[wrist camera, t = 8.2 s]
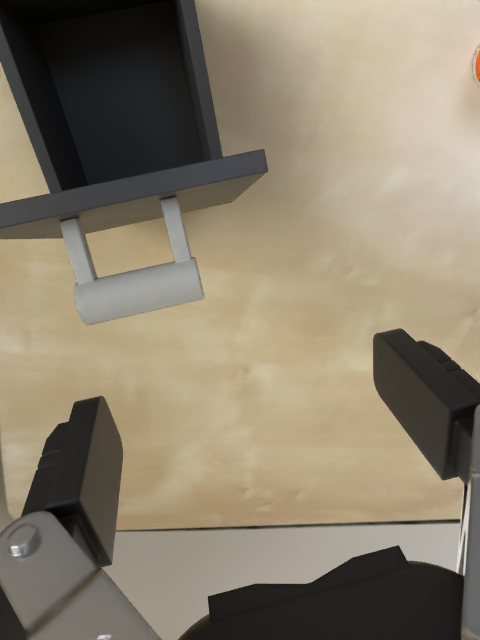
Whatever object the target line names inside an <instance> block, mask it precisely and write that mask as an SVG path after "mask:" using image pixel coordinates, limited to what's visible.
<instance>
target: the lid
mask: <svg viewBox="0 0 480 640" xmlns="http://www.w3.org/2000/svg"><path fill="white" fill-rule="evenodd" d="M267 172H268V168H267V162H266V157H265V152H264V149H261V150H256V151H251V152H247V153H242V154H237V155H232V156H227V157H223V158H218V159H213V160H208V161H203V162H199V163H194V164H189V165H184V166H179V167H175V168H170V169H165V170H160V171H155V172H151V173H146V174H141V175H136V176H131V177H127V178H122V179H117V180H112V181H107V182H103V183H98V184H93V185H88V186H83V187H79V188H74V189H69V190H64V191H59V192H55V193H50V194H45V195H40V196H35V197H31V198H26V199H21V200H16V201H11V202H7V203H2V204H0V239H45V238H64V241H65V244H66V247H67V251H68V254H69V257H70V261H71V264H72V267H73V271H74V274H75V277H76V281H77V284H75V286H74V299H75V304H76V308H77V311H78V313H79V316H80V318H81V319H82V321H83V322H84V323H85V324H86V325H93V324H97V323H102V322H106V321H110V320H115V319H119V318H123V317H128V316H132V315H136V314H141V313H145V312H149V311H154V310H158V309H162V308H167V307H171V306H175V305H180V304H184V303H188V302H193V301H197V300H201V299H204V292H203V288H202V284H201V279H200V275H199V271H198V267H197V262H196V259H195V257H191V253H190V248H189V244H188V240H187V236H186V232H185V227H184V223H183V219H182V215H181V213H184V212H189V211H194V210H198V209H203V208H208V207H212V206H217V205H221V204H226V203H231V202H232V201H233V200H235V199H236V198H237V197H238V196H239V195H241V194H242V193H243V192H244V191H245V190H246V189H248V188H249V187H250V186H251V185H252V184H254V183H255V182H256V181H257V180H258V179H259V178H261V177H262V176H263V175H264V174H265V173H267ZM161 217H164V220H165V224H166V228H167V232H168V236H169V240H170V244H171V248H172V252H173V256H174V260H175V261H174V262H169V263H165V264H160V265H156V266H151V267H147V268H142V269H138V270H133V271H129V272H124V273H120V274H115V275H111V276H107V277H102V278H97V275H96V272H95V268H94V265H93V261H92V258H91V254H90V251H89V247H88V244H87V240H86V237H85V234H87V233H92V232H96V231H101V230H106V229H110V228H115V227H119V226H124V225H129V224H133V223H138V222H143V221H147V220H152V219H157V218H161Z"/></svg>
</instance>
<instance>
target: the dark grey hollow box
mask: <svg viewBox="0 0 480 640" xmlns="http://www.w3.org/2000/svg"><path fill="white" fill-rule="evenodd" d="M0 62H1V65H2V67H3V70H4V72H5V75H6V78H7V80H8V83H9V86H10V88H11V91H12V93H13V96H14V99H15V101H16V104H17V107H18V109H19V112H20V114H21V117H22V120H23V122H24V125H25V128H26V130H27V133H28V135H29V138H30V141H31V143H32V146H33V148H34V151H35V154H36V156H37V159H38V162H39V164H40V167H41V169H42V172H43V175H44V177H45V180H46V183H47V185H48V188H49V190H50V193H55V192H59V191H64V190H69V189H74V188H79V187H83V186H88V185H93V184H98V183H103V182H107V181H112V180H117V179H122V178H127V177H131V176H136V175H141V174H146V173H151V172H155V171H160V170H165V169H170V168H175V167H179V166H184V165H189V164H194V163H199V162H203V161H208V160H213V159H218V158H223V156H222V151H221V145H220V140H219V134H218V129H217V123H216V118H215V112H214V107H213V101H212V96H211V90H210V85H209V79H208V73H207V68H206V62H205V57H204V51H203V46H202V40H201V35H200V29H199V24H198V18H197V13H196V7H195V2H194V0H0Z"/></svg>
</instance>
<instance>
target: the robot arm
mask: <svg viewBox="0 0 480 640" xmlns="http://www.w3.org/2000/svg"><path fill="white" fill-rule="evenodd" d="M373 377H374V383H375V387H376V389H377V392H378V394H379V396H380V397H381V398H382V400H383V401H384V402H385V404H386V405H387V406H388V408H389V409H390V411H391V412H392V413H393V415H394V416H395V417H396V419H397V420H398V421H399V423H400V424H401V425H402V427H403V428H404V429H405V431H406V432H407V433H408V435H409V436H410V437H411V439H412V440H413V441H414V443H415V444H416V445H417V447H418V448H419V450H420V451H421V452H422V454H423V455H424V456H425V458H426V459H427V460H428V462H429V463H430V464H431V466H432V467H433V468H434V470H435V471H436V472H437V474H438V475H439V476H440V478H441V479H442V480H447V479H451V478H455V477H460V479H461V480H462V481H463V482H464V490H463V500H462V512H461V523H460V536H459V548H458V558H457V567H456V572H454V571H452V570H449V569H446V568H443V567H441V566H438V565H434V564H430V563H425V562H417V561H407V560H406V558H405V556H404V554H403V553H402V551H401V549H400V547H399V546H395V547H391V548H387V549H383V550H379V551H376V552H372V553H368V554H365V555H361V556H357V557H353V558H352V559H350V560H348V561H347V562H345V563H343V564H342V565H340V566H338V567H337V568H335V569H333V570H332V571H330V572H328V573H327V574H325V575H323V576H322V577H320V578H318V579H317V580H315V581H313V582H311V583H308V584H253V585H249V586H245V587H242V588H238V589H234V590H231V591H227V592H223V593H219V594H216V595H212V596H208V604H209V614H208V615H206V616H205V617H203V618H202V619H200V620H199V621H198V622H196V623H195V624H194V625H192V626H191V627H190V628H189V629H188V630H187V631H186V632H185V633H184V634H183V635H182V636H181V637H180V638H179V639H178V640H480V384H479V383H478V382H477V381H476V380H475V379H474V378H473V377H471V376H470V375H469V374H468V373H467V372H466V371H465V370H464V369H461V367H460V366H459V365H458V364H457V363H456V362H455V361H452V360H451V358H450V357H449V356H448V355H447V354H445V353H444V352H443V351H442V350H441V349H440V348H438V347H436V346H434V345H431V344H429V343H427V342H425V341H418V342H416V341H415V340H414V339H413V338H412V337H411V336H410V335H408V334H407V333H406V332H405V331H404V330H403V329H401V328H399V329H395V330H390V331H386V332H382V333H377V334H375V335H374V338H373ZM122 462H123V448H122V442H121V438H120V435H119V432H118V430H117V427H116V425H115V422H114V420H113V417H112V415H111V412H110V409H109V407H108V404H107V402H106V400H105V398H104V397H103V396H99V397H94V398H90V399H85V400H81V401H77V402H75V403H74V405H73V408H72V412H71V415H70V419H69V422H65V423H61V424H58V426H57V427H56V428H55V429H54V431H53V432H52V433H51V434H50V436H49V437H48V438H47V440H46V443H45V446H44V449H43V452H42V457H41V458H40V461H39V464H38V470H36V473H35V476H34V479H33V482H32V485H31V488H30V491H29V494H28V497H27V500H26V503H25V506H24V509H23V512H22V515H21V517H20V518H18V519H17V520H15V521H14V522H12V523H11V524H10V525H8V527H6V528H5V529H4V530H3V531H2V532H1V533H0V640H162V639H161V638H160V637H159V636H158V635H157V634H156V632H155V631H154V630H153V629H152V627H151V626H150V625H149V624H148V623H147V621H146V620H145V619H144V618H143V617H142V615H141V614H140V613H139V612H138V611H137V609H136V608H135V607H134V606H133V605H132V603H131V602H130V601H129V600H128V598H127V597H126V596H125V595H124V594H123V593H122V591H121V590H120V589H119V588H118V587H117V585H116V584H115V583H114V582H113V581H112V579H111V578H110V577H109V576H108V575H107V573H106V572H105V571H104V570H103V569H102V568H101V567H105V566H109V565H112V559H113V548H114V540H115V530H116V520H117V510H118V501H119V491H120V481H121V471H122Z"/></svg>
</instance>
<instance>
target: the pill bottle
mask: <svg viewBox="0 0 480 640" xmlns="http://www.w3.org/2000/svg"><path fill="white" fill-rule="evenodd" d="M473 75H474V78H475V81H476V82H477V84H478V85H479V86H480V46H479V47H478V49H477V51H476V54H475V57H474V62H473Z"/></svg>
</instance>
